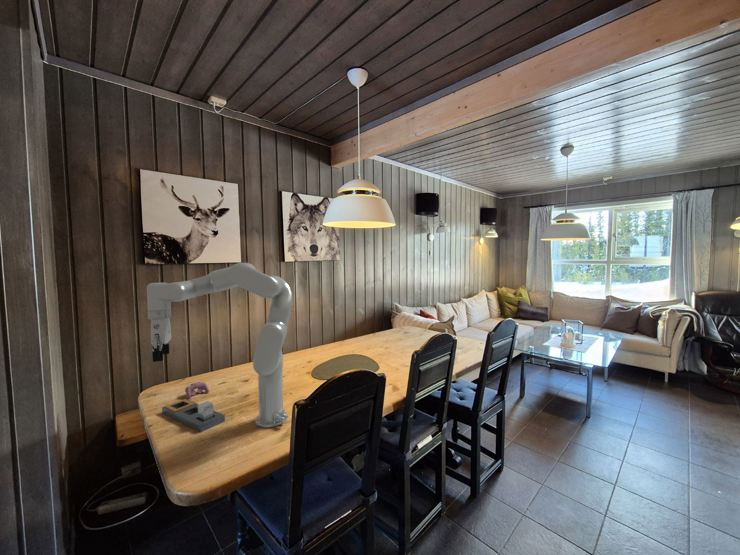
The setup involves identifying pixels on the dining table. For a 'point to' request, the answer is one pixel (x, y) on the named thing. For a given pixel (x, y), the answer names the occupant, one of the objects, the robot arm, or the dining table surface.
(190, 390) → the video game controller
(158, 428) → the dining table surface
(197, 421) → the grey flat slotted plate
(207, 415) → the steel block
